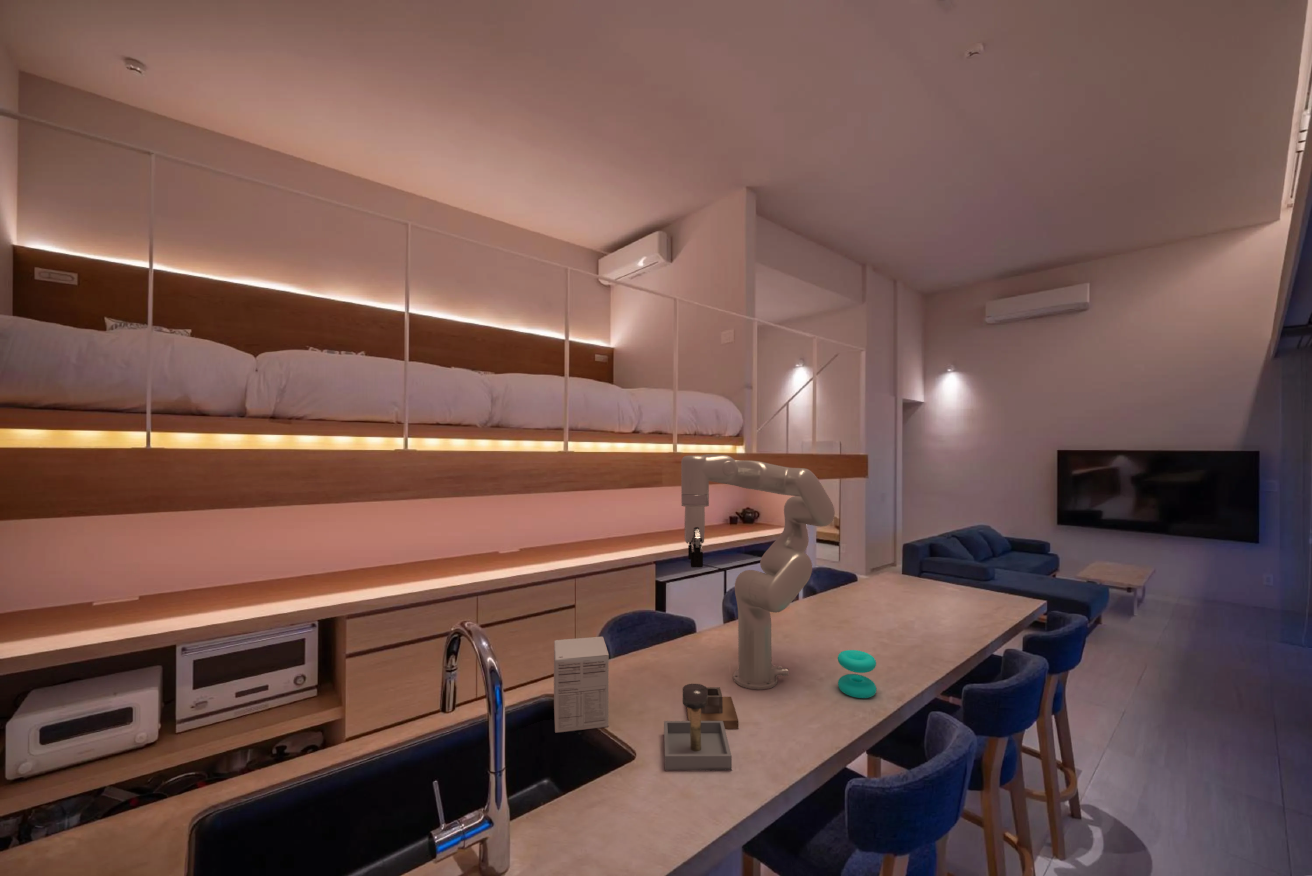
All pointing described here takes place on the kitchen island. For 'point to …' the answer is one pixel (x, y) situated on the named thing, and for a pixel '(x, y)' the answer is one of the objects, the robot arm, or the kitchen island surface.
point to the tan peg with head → (695, 711)
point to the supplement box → (580, 684)
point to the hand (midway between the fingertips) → (695, 563)
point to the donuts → (854, 682)
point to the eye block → (718, 709)
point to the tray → (708, 758)
